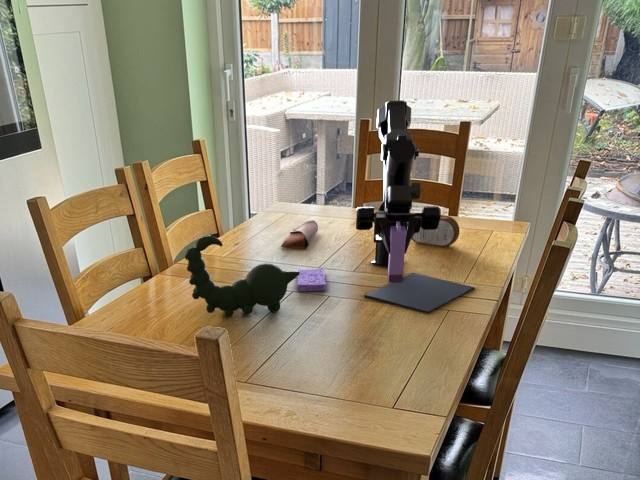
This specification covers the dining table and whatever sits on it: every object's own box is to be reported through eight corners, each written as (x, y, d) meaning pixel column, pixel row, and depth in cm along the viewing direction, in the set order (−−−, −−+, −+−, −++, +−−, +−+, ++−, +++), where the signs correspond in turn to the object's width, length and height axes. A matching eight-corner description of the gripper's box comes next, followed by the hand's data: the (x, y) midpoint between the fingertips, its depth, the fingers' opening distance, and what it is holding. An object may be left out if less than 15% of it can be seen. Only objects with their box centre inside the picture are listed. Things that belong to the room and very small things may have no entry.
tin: (458, 247, 205) (461, 216, 200) (454, 249, 203) (457, 219, 198) (409, 240, 212) (411, 210, 207) (405, 242, 210) (407, 213, 205)
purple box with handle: (387, 276, 168) (390, 221, 161) (401, 276, 167) (405, 221, 160) (388, 282, 164) (392, 227, 157) (402, 282, 164) (406, 226, 157)
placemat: (364, 296, 173) (364, 294, 173) (412, 274, 186) (413, 272, 186) (428, 313, 163) (428, 311, 163) (474, 289, 176) (475, 287, 176)
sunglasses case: (291, 230, 222) (301, 211, 218) (310, 242, 223) (321, 224, 219) (279, 247, 207) (291, 227, 203) (300, 260, 208) (312, 240, 204)
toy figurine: (196, 328, 164) (304, 315, 163) (180, 245, 153) (296, 230, 152) (198, 313, 171) (302, 300, 170) (183, 233, 161) (294, 219, 160)
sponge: (297, 291, 177) (297, 284, 176) (297, 275, 188) (297, 268, 187) (325, 291, 177) (325, 284, 176) (324, 274, 187) (324, 267, 186)
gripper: (358, 168, 156) (356, 234, 154) (444, 167, 155) (444, 234, 152) (356, 197, 167) (355, 259, 165) (437, 197, 166) (437, 259, 163)
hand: (397, 252), depth 161 cm, fingers closed on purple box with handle, 3 cm apart
